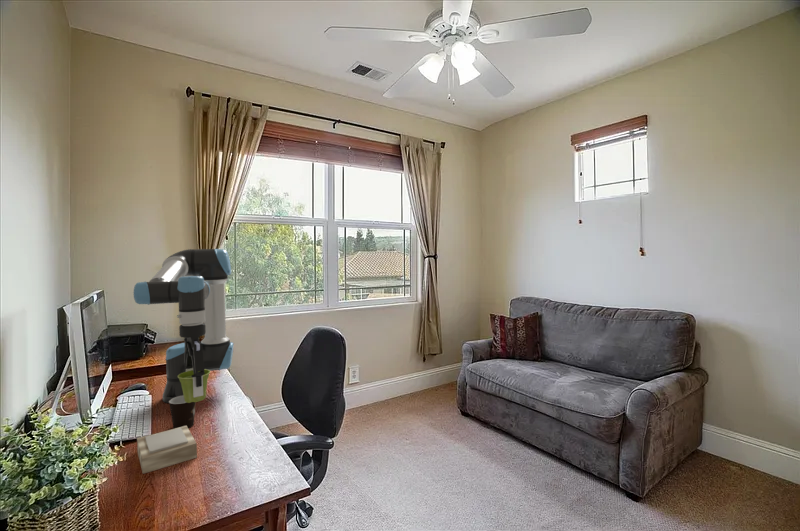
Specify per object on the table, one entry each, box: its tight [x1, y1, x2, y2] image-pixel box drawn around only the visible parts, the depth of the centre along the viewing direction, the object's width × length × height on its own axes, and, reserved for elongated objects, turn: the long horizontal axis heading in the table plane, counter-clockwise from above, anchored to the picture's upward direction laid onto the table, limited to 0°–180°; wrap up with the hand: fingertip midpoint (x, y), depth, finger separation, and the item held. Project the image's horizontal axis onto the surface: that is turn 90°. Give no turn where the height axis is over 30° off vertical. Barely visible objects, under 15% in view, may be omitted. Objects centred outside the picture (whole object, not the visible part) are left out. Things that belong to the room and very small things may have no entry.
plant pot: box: [178, 369, 211, 403], centre depth 127 cm, size 9×9×9 cm
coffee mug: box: [168, 395, 197, 429], centre depth 143 cm, size 12×9×10 cm
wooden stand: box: [136, 425, 198, 474], centre depth 121 cm, size 16×14×5 cm
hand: (194, 391), depth 127 cm, fingers closed on plant pot, 9 cm apart
